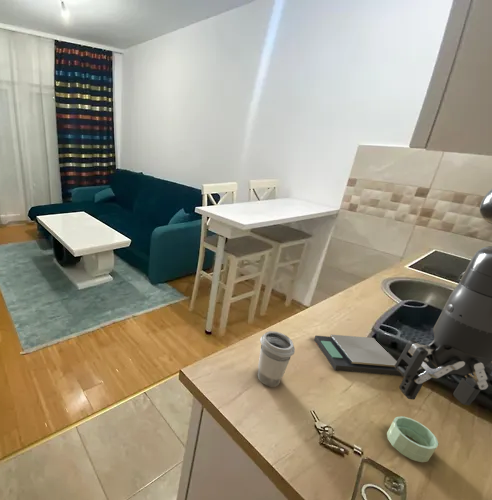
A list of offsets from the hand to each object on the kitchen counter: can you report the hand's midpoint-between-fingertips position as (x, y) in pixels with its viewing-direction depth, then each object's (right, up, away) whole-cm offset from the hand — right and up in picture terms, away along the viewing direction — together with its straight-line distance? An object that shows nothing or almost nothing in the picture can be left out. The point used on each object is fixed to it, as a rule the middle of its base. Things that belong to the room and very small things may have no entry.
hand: (433, 397), depth 48 cm
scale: (+6, -3, +26) cm, 27 cm away
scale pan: (+7, -1, +25) cm, 26 cm away
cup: (-20, -6, +18) cm, 28 cm away
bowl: (0, -12, +5) cm, 13 cm away
